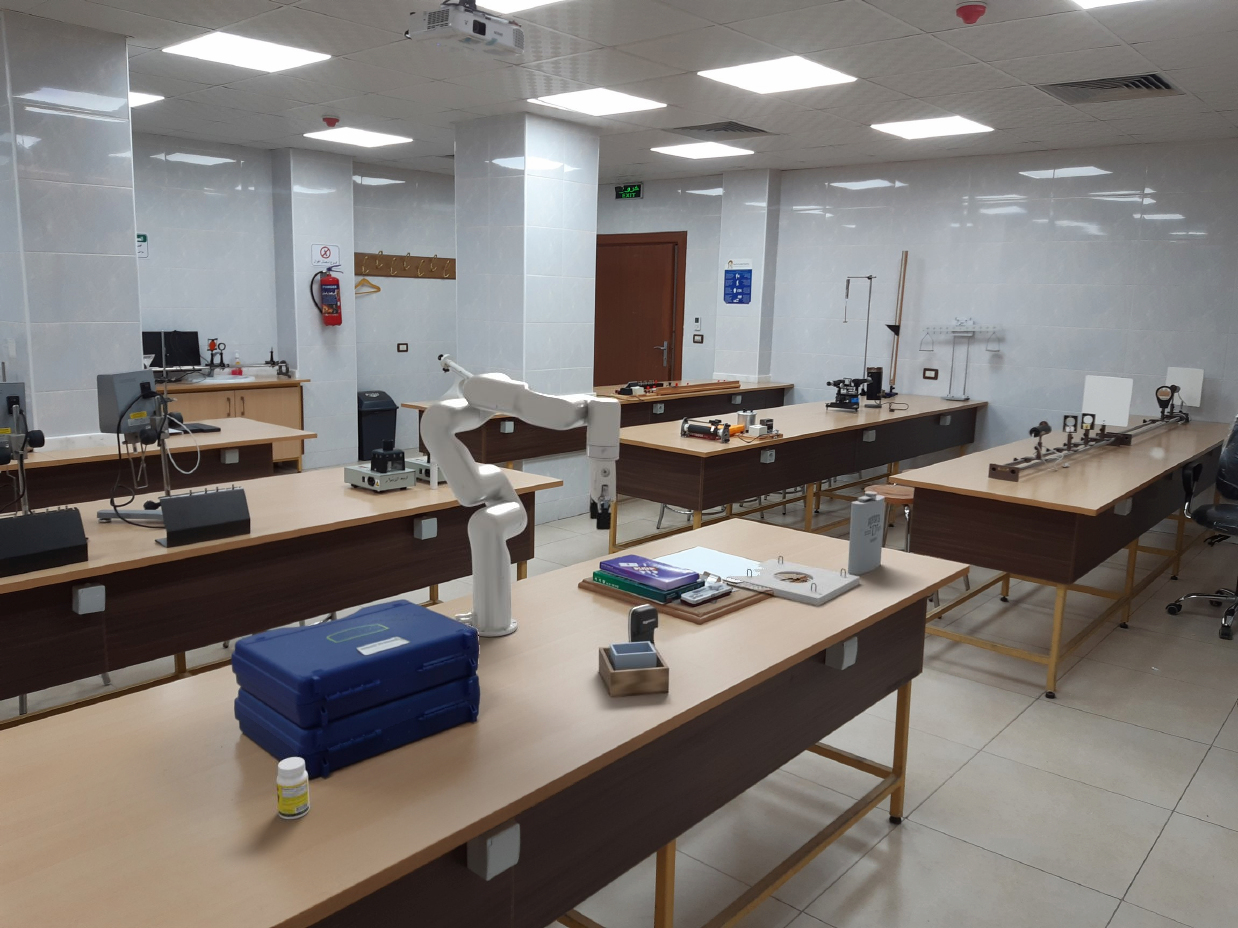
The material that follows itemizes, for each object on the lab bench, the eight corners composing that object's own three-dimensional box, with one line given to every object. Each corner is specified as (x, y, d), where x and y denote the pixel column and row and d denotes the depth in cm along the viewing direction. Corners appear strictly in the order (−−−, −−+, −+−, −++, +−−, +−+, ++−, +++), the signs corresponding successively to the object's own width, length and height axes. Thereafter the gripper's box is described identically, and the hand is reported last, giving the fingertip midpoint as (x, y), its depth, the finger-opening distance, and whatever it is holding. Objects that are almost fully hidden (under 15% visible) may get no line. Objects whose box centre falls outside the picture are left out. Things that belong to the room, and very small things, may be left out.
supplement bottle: (283, 803, 140) (280, 755, 138) (313, 802, 140) (310, 754, 139) (274, 820, 135) (271, 771, 134) (305, 819, 135) (302, 770, 134)
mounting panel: (818, 590, 238) (726, 569, 257) (818, 607, 239) (726, 585, 258) (860, 569, 258) (772, 551, 277) (859, 585, 259) (771, 566, 278)
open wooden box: (610, 697, 180) (610, 672, 179) (598, 670, 194) (598, 647, 193) (668, 692, 183) (669, 667, 182) (652, 666, 196) (653, 643, 195)
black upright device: (637, 659, 200) (637, 612, 198) (627, 654, 203) (627, 607, 201) (660, 652, 204) (660, 606, 202) (649, 647, 207) (650, 602, 205)
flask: (859, 575, 267) (864, 496, 263) (846, 572, 270) (850, 494, 266) (884, 564, 280) (889, 488, 276) (871, 561, 283) (875, 486, 279)
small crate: (615, 686, 184) (615, 655, 183) (609, 674, 190) (609, 643, 189) (656, 683, 186) (656, 652, 185) (649, 671, 192) (649, 641, 191)
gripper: (625, 458, 191) (622, 533, 194) (612, 445, 207) (609, 514, 211) (592, 458, 189) (589, 533, 193) (581, 445, 206) (579, 515, 209)
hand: (600, 523), depth 202 cm, fingers open, 9 cm apart
